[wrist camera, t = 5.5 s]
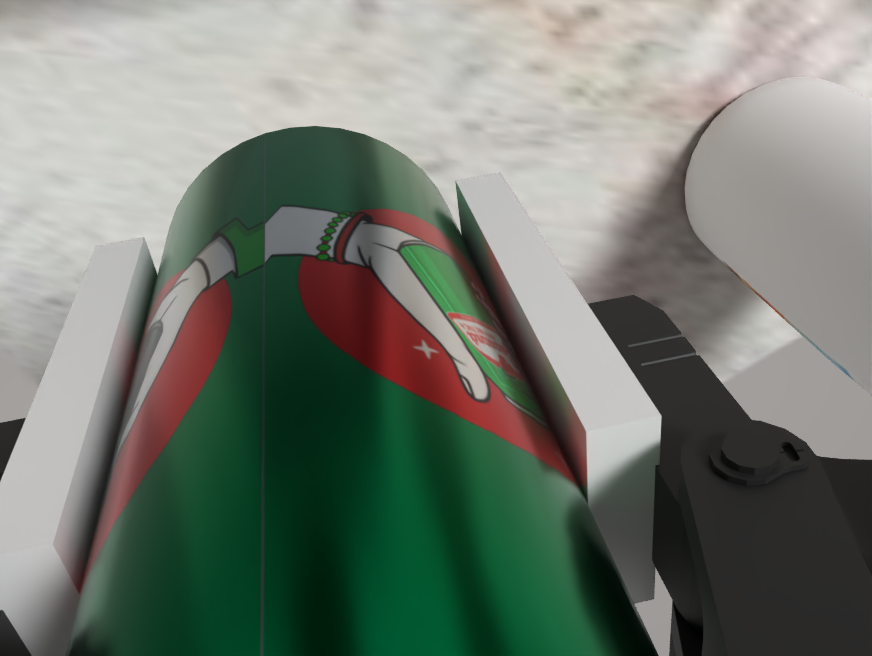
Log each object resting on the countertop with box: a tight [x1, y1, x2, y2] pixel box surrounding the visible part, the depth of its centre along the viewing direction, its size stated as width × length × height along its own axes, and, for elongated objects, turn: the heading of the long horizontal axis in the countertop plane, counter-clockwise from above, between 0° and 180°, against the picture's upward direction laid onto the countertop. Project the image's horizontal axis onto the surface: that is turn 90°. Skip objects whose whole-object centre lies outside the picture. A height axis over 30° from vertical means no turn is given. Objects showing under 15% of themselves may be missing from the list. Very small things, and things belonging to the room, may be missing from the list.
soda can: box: [65, 126, 658, 656], centre depth 10 cm, size 5×5×12 cm
